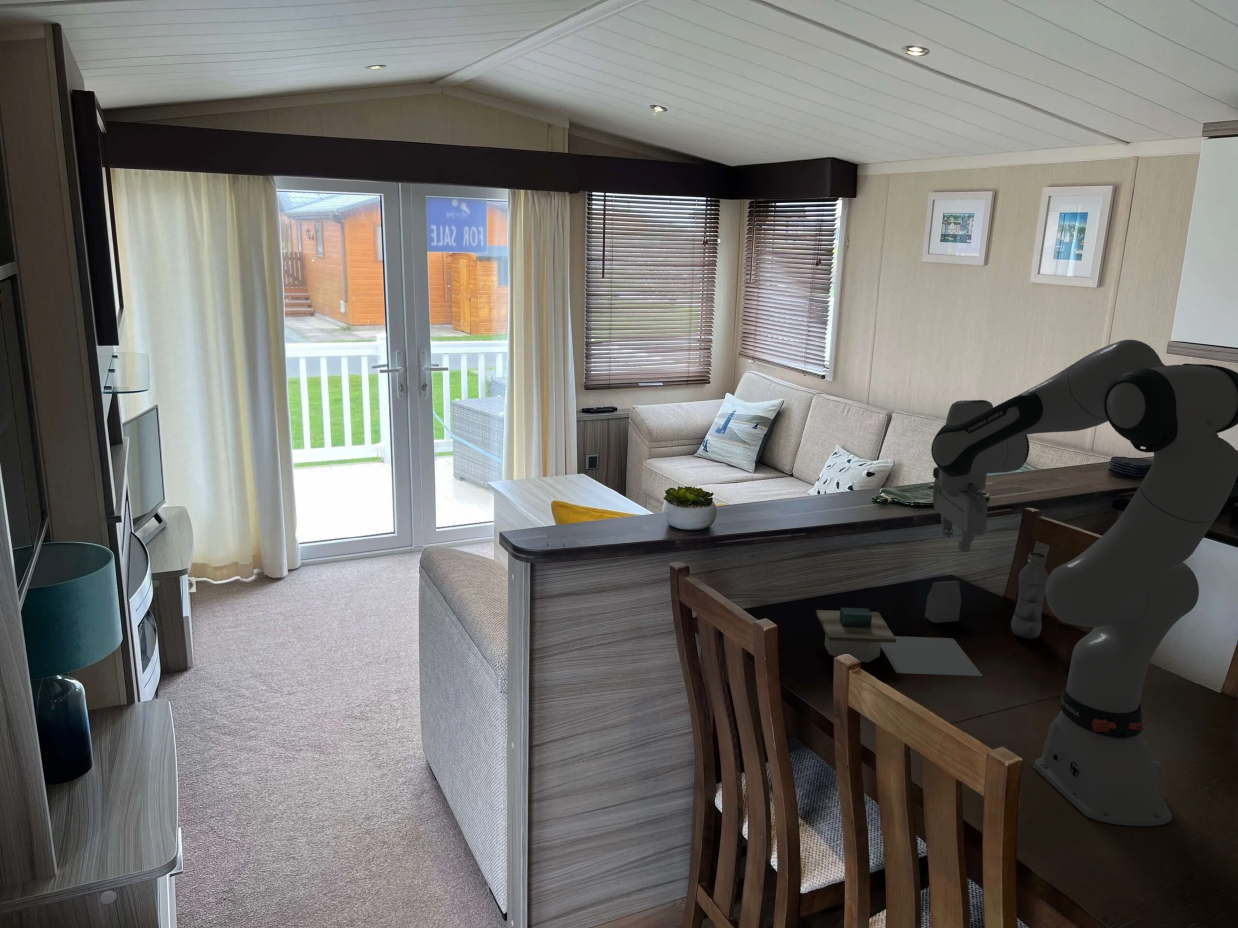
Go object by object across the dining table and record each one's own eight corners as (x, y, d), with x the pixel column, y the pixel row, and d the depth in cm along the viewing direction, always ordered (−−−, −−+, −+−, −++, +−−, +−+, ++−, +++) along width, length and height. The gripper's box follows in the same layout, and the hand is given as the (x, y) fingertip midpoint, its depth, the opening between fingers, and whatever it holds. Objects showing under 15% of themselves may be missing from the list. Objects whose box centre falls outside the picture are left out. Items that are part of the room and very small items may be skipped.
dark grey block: (958, 623, 218) (963, 583, 215) (933, 625, 216) (938, 585, 213) (948, 616, 221) (954, 578, 218) (924, 618, 219) (929, 580, 217)
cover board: (895, 642, 192) (897, 626, 191) (829, 640, 192) (830, 623, 191) (878, 615, 205) (879, 599, 204) (815, 613, 205) (817, 597, 204)
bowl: (883, 665, 195) (886, 639, 193) (831, 663, 195) (834, 637, 193) (870, 642, 205) (872, 617, 204) (821, 640, 205) (823, 616, 204)
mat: (982, 678, 190) (982, 675, 190) (896, 675, 190) (896, 672, 190) (952, 640, 208) (953, 638, 208) (873, 637, 208) (874, 635, 208)
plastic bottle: (1033, 630, 214) (1046, 550, 209) (1044, 643, 208) (1057, 561, 203) (1005, 628, 215) (1017, 548, 210) (1014, 641, 209) (1027, 559, 204)
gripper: (999, 491, 174) (990, 560, 177) (959, 467, 194) (952, 529, 197) (966, 490, 174) (958, 559, 177) (930, 466, 194) (923, 528, 197)
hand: (955, 543), depth 188 cm, fingers open, 8 cm apart
